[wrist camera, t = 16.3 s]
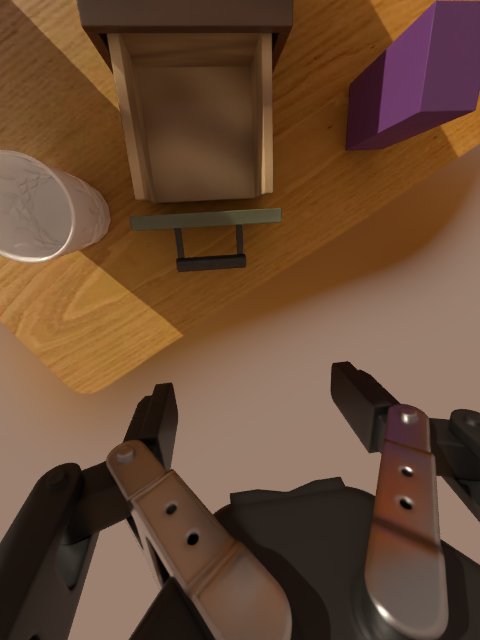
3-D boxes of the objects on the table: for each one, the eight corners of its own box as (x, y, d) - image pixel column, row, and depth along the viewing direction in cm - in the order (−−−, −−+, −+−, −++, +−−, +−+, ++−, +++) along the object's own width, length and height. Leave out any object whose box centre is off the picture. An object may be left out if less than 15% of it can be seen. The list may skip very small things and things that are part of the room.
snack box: (345, 150, 30) (419, 112, 20) (349, 84, 28) (435, 0, 17) (382, 149, 31) (475, 110, 20) (390, 83, 29) (498, 0, 18)
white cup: (105, 261, 32) (62, 278, 22) (32, 232, 30) (-48, 238, 21) (125, 193, 30) (86, 181, 20) (47, 158, 28) (-35, 127, 18)
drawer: (267, 259, 33) (281, 269, 26) (154, 267, 32) (140, 279, 25) (264, 62, 26) (281, 11, 20) (121, 63, 25) (91, 10, 19)
